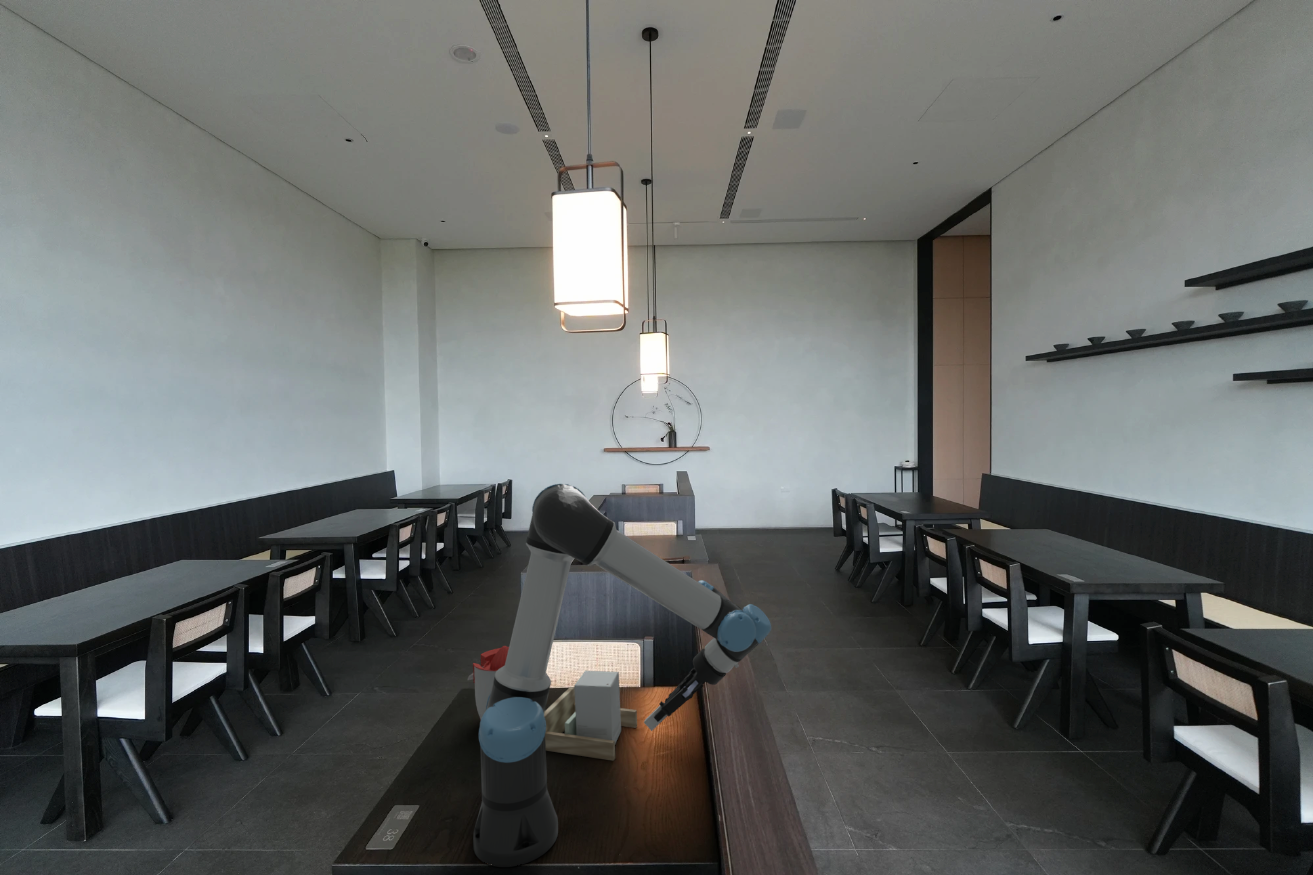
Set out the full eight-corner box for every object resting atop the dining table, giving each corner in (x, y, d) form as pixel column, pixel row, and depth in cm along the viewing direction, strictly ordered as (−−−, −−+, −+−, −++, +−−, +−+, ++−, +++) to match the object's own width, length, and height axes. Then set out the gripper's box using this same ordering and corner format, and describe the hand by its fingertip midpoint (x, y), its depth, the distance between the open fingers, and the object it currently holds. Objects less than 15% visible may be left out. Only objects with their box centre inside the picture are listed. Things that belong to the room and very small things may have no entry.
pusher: (569, 749, 137) (568, 723, 137) (565, 748, 138) (564, 723, 138) (592, 721, 150) (591, 698, 150) (588, 721, 150) (588, 697, 150)
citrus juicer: (480, 709, 160) (477, 635, 159) (544, 708, 159) (541, 634, 159) (458, 739, 144) (456, 658, 144) (529, 738, 143) (526, 657, 143)
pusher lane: (613, 760, 133) (612, 725, 133) (541, 749, 138) (540, 715, 138) (637, 725, 148) (636, 694, 148) (571, 717, 153) (570, 686, 153)
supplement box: (622, 730, 146) (620, 670, 146) (613, 750, 137) (610, 686, 137) (587, 728, 147) (585, 669, 147) (575, 747, 139) (573, 684, 138)
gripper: (722, 685, 127) (651, 752, 132) (732, 661, 139) (667, 724, 145) (697, 659, 128) (628, 726, 134) (709, 638, 141) (646, 700, 146)
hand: (648, 725), depth 139 cm, fingers closed
